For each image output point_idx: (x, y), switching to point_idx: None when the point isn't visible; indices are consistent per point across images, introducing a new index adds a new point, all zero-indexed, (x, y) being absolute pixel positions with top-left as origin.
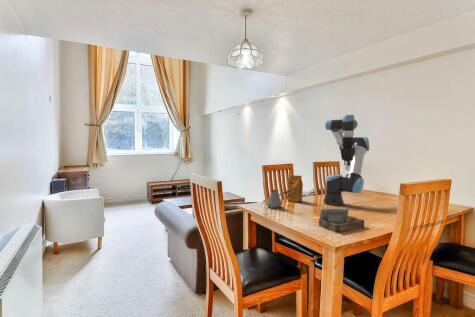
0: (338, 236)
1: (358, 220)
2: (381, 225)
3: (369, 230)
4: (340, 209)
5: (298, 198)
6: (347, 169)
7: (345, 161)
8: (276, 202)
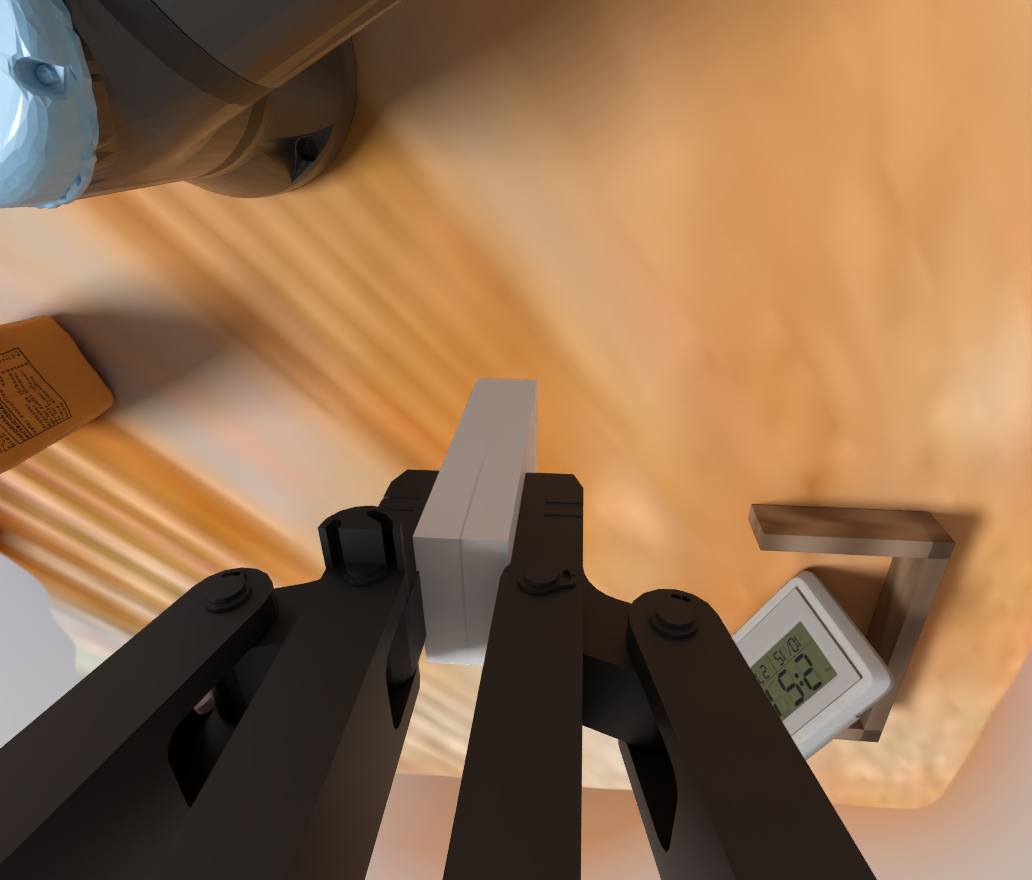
0: (891, 732)
1: (924, 580)
2: (1024, 373)
3: (988, 542)
4: (852, 723)
5: (88, 409)
6: (534, 454)
7: (450, 652)
8: None
